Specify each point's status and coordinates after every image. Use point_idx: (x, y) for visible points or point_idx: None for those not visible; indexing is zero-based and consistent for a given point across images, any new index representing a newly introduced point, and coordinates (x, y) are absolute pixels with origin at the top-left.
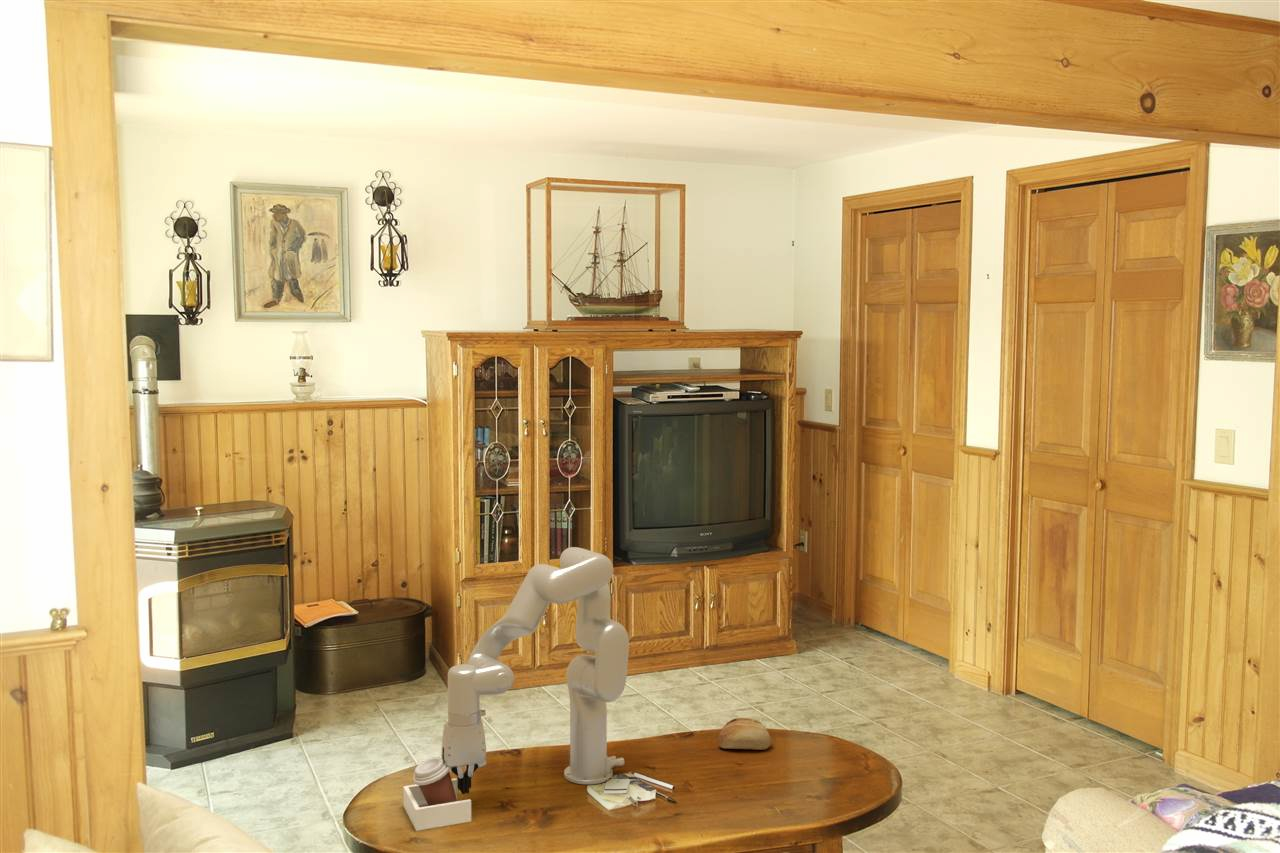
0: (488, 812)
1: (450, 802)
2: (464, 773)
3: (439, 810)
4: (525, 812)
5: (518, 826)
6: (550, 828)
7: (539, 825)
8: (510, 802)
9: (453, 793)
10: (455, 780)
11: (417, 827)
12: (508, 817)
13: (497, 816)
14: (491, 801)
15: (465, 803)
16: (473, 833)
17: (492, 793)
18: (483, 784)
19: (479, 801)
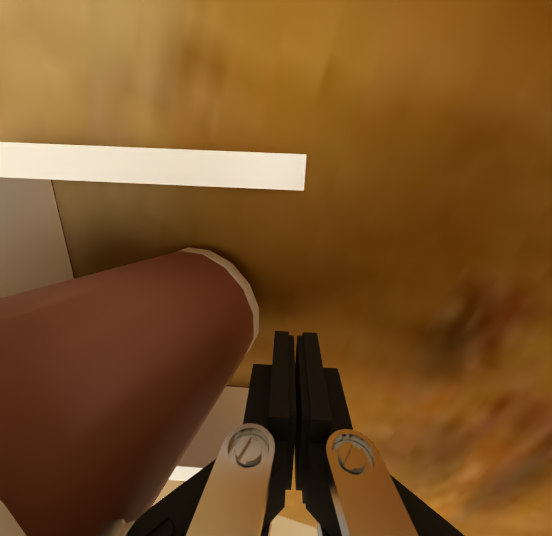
0: (371, 364)
1: (181, 466)
2: (314, 428)
3: None
4: (493, 415)
5: (410, 481)
6: (486, 521)
7: (471, 498)
8: (502, 319)
9: (214, 404)
10: (289, 188)
11: None
12: (416, 424)
13: (386, 403)
14: (435, 275)
15: None
16: None
17: (493, 185)
18: (529, 13)
19: (387, 251)
